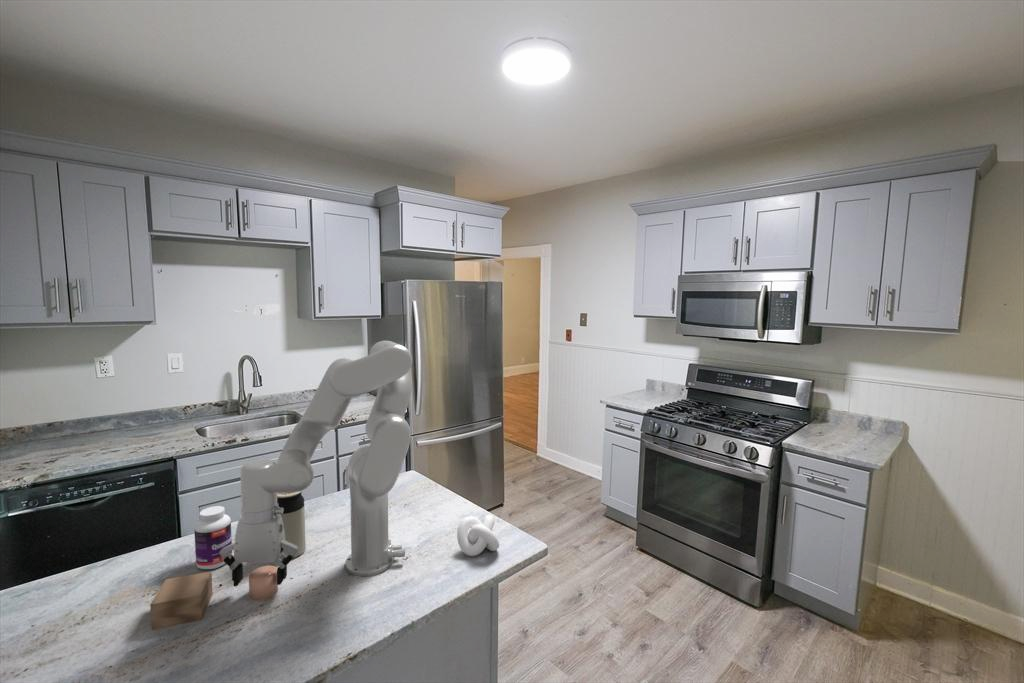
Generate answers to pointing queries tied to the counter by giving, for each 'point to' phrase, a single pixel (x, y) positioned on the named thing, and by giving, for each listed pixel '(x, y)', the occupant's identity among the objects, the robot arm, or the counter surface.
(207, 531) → the pill bottle
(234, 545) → the robot arm
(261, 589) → the peach rounded cylinder
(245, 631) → the counter surface
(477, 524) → the white knot sculpture
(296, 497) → the travel mug
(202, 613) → the walnut box
